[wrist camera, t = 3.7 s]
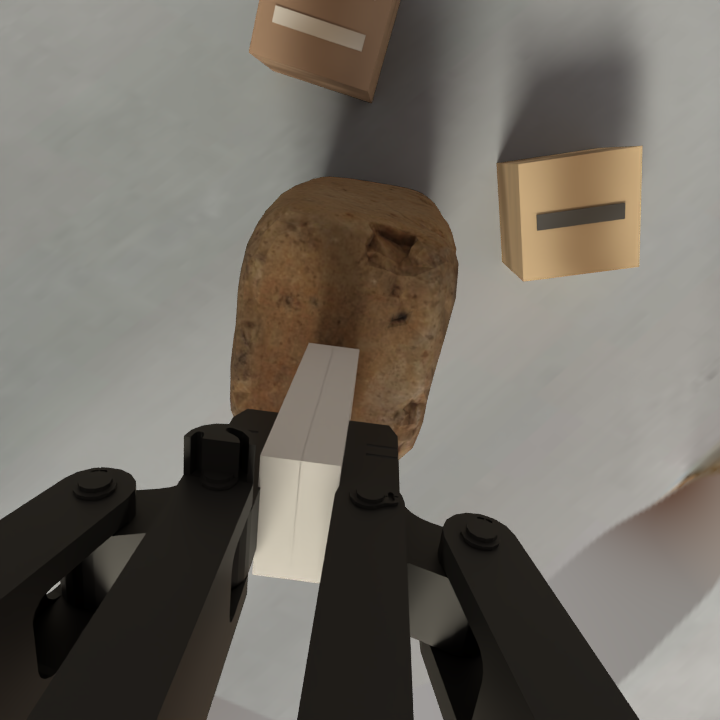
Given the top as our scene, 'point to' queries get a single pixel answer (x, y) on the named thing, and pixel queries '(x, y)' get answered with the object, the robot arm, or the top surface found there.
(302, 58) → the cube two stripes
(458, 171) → the top surface
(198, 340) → the top surface
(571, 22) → the top surface
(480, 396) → the top surface
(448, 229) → the block
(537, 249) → the cube one stripe
